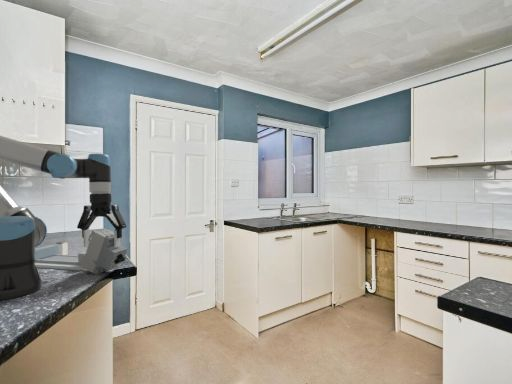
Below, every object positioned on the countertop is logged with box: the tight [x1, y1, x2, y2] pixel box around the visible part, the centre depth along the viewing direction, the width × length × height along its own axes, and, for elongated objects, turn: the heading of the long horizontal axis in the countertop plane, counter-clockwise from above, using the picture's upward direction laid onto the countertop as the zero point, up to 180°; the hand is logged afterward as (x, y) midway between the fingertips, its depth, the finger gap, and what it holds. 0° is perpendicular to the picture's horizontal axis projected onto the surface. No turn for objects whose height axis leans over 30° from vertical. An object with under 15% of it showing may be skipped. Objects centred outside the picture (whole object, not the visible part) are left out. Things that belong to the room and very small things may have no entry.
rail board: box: [35, 244, 87, 272], centre depth 123 cm, size 16×32×6 cm, turn 79°
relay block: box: [53, 240, 69, 255], centre depth 137 cm, size 5×4×7 cm
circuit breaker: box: [79, 228, 128, 275], centre depth 110 cm, size 8×14×15 cm, turn 79°
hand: (102, 246), depth 110 cm, fingers open, 13 cm apart
